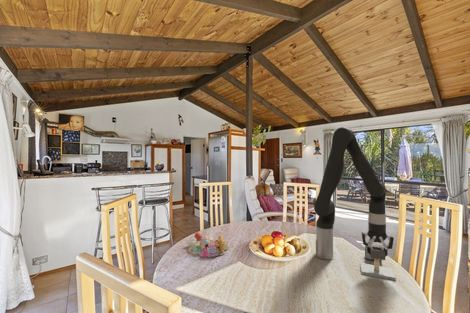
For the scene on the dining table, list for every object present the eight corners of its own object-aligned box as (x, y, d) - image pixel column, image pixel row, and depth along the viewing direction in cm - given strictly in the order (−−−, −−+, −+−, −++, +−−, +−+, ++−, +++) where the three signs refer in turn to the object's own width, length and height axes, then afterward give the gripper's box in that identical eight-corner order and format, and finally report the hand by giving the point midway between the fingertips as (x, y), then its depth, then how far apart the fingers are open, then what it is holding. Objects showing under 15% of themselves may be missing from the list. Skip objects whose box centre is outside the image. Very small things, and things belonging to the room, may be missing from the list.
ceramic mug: (382, 263, 123) (383, 249, 123) (365, 260, 127) (365, 246, 127) (380, 256, 133) (380, 243, 133) (364, 253, 136) (364, 240, 136)
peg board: (361, 273, 113) (361, 259, 112) (360, 264, 122) (360, 251, 122) (395, 280, 107) (395, 265, 107) (391, 270, 116) (391, 256, 116)
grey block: (370, 257, 112) (370, 249, 112) (369, 253, 118) (369, 245, 118) (385, 260, 110) (385, 252, 110) (383, 255, 115) (383, 247, 115)
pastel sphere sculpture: (228, 242, 154) (228, 228, 154) (228, 258, 130) (228, 242, 130) (191, 242, 153) (191, 229, 153) (184, 258, 130) (184, 242, 129)
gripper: (361, 222, 113) (361, 255, 114) (395, 225, 107) (396, 261, 107) (360, 218, 120) (360, 249, 120) (392, 221, 114) (392, 254, 114)
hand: (377, 255), depth 114 cm, fingers closed on grey block, 6 cm apart
